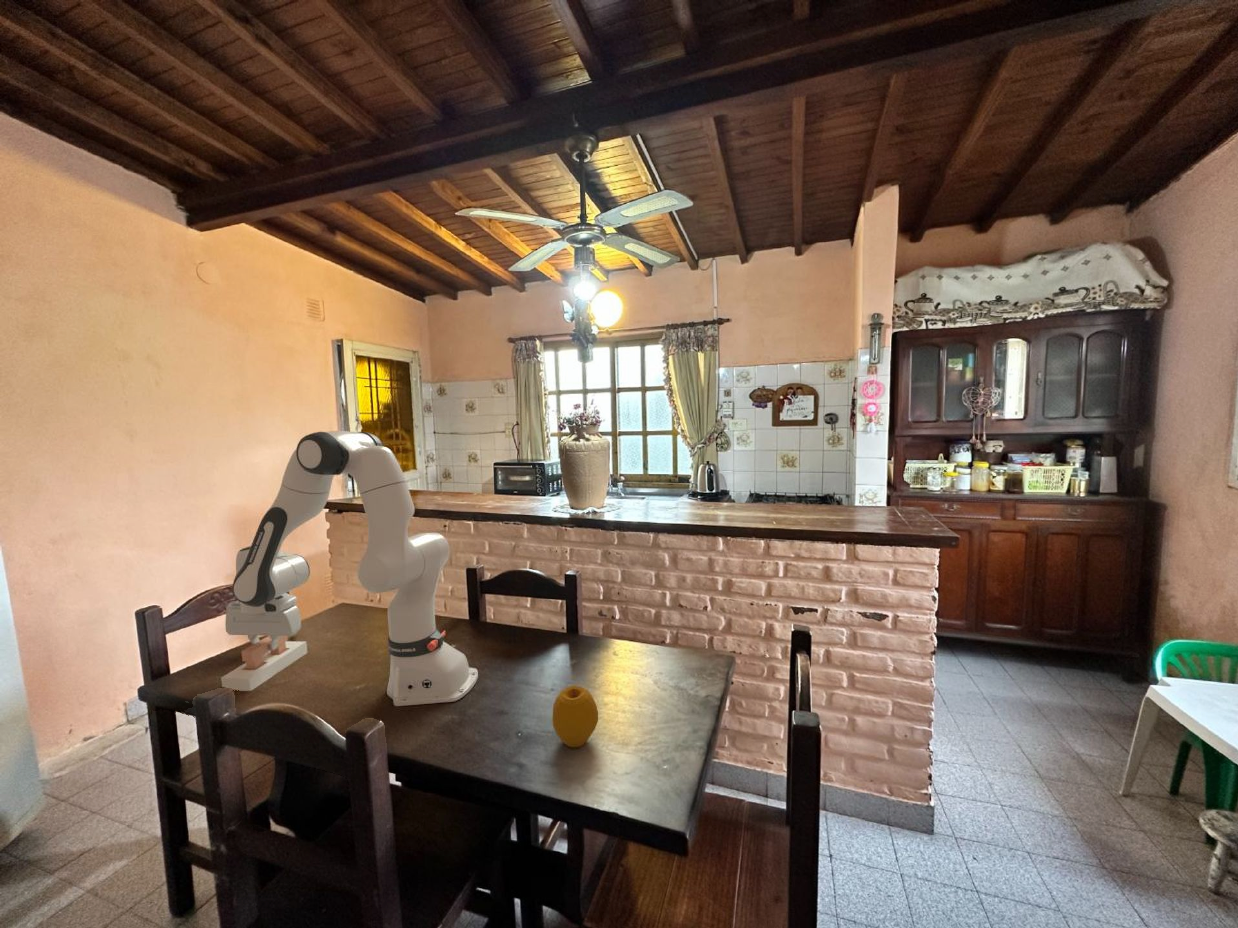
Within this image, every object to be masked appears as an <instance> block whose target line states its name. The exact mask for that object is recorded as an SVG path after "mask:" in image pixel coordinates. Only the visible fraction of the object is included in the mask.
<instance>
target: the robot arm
mask: <svg viewBox="0 0 1238 928" xmlns="http://www.w3.org/2000/svg"><path fill="white" fill-rule="evenodd" d="M341 474H343V475H344V474H348V475H350V476H351V477H352V478H353V479H354V481H355V483H356V486H357V490H358V493H359V495H360V499H361V500H360V501H361V502H362V505H363V508H364V513H365V516H366V520H367V521H366V522H367V525H368V526H367V527H368V539H367V545H366V549H365V552H364V553H363V556H362V557H361V559H360V560H359V563H358V565H357V578H358V580H359V583H360V584H361V586H362V587H363V588H364V589H365V590H366V591H367V592H369V593H372V594H381V593H387V592H391V591H395V592H396V593H395V594H394V596H393V598H392V599H391V600H390V602H389V604H388V606H387V622H388V623H387V625H388V634H389V635H388V637H387V646H388V654H389V656H390V665H389V666H390V667H389V679H388V684H387V688H386V694H387V696H388V697H389V698H390V699H392V700H393V701H392V703H393V705H394V706H395V707H402V706H414V705H425V704H427V705H428V704H437V703H438V704H439V703H451V702H456V701H458V700H460V699H461V698H463V697H464V696H466V695H467V694H468V693H469V692H470V691H471V690H472V689H473V687H474V685H476V683H477V681H478V678H479V672H478V669H477V668H475V667H469V662H468V659H467V657H466V655H465V654H464V653H463V652H461V651H459V650H458V649H456V648H454V647H453V646H452V645H449V643H447V642H445V641H444V639H443V638H444V637H445V636H446V630H443V631H442V632H440V631H439V629H438V627H437V626H436V613H435V611H436V609H435V608H436V607H435V600H436V592H437V587H438V583H439V579H440V576H441V574H442V570H443V568H444V567H445V564H446V563H447V561H448V560H449V558H450V554H451V548H450V544H449V542H448V541H447V539H446V537H445V536H444V535H442V534H440V533H438V532H422V533H418V534H413V535H411V536H409V534H408V533H409V532H408V530H409V529H408V527H409V523H410V521H411V519H412V518H413V516H414V514H415V509H416V508H415V505H414V501H413V498H412V496H411V492H410V490H409V487H408V483H407V480H406V478H405V474H404V471H403V469H402V468H401V466H400V463H399V461H398V459H397V457H396V456H395V454H394V453H393V451H392V450H391V449H390V448H389V447H386V446H384V444H383V443H382V441H381V440H380V438H379V437H377V436H376V435H374V434H373V433H370V432H365V431H349V430H347V431H346V430H331V431H316V432H312V433H309V434H307V435H305V436H303V437H302V438H301V439H300V440H299V442H298V443H297V445H296V449H295V450H294V451H293V453H292V455H291V456H290V458H289V461H288V463H287V465H286V467H285V470H284V473H283V476H282V480H281V484H280V487H279V490H278V493H277V495H276V497H275V500H274V501H273V503H272V504H271V506H270V508H268V510H267V511H266V512H265V514H264V515H263V517H262V519H261V521H260V523H259V524H258V527H257V530H256V531H255V532H256V533H255V536H254V537H253V541H252V542H251V544H250V546H246V547H243V548H241V549H239V551H238V552H237V554H236V557H235V558H236V559H235V572H236V575H235V577H234V579H233V583H232V593H233V596H234V598H235V599H236V600H237V601H236V600H232V601H230V602H229V603H228V604H226V607H225V609H226V613H225V621H224V623H225V632H226V633H227V634H228V636H229V635H231V636H247V639H248V640H249V641H250V643H251V644H252V645H253V644H255V643H257V642H259V641H261V639H260V638H259V636H269V635H270V639H272V640H271V643H269V644H267V645H268V650H274V649H276V648H277V647H278V644H277V641H278V640H279V638H280V636H291V635H293V634H295V633H296V632H297V633H298V632H299V631H300V630H301V628H302V621H301V615H300V611H299V608H298V607H297V606H296V604H297V603H298V598H297V596H295V595H293V594H291V593H290V592H291V591H292V590H295V589H297V588H299V587H301V586H303V585H304V584H305V583H307V582H308V580H309V577H310V574H311V573H310V572H311V571H310V564H309V562H308V561H307V560H306V559H305V558H304V557H303V556H301V555H299V554H297V553H293V554H292V553H288V552H285V551H281V549H282V545H283V543H284V541H285V540H286V539H287V538H288V536H289V535H290V534H292V533H293V531H295V530H296V529H298V528H299V527H300V526H303V524H305V523H306V522H309V521H310V520H312V519H314V518H315V517H318V515H319V514H321V512H322V511H323V510H324V508H325V506H326V505H327V502H328V499H329V496H330V493H331V489H332V484H333V483H332V482H333V479H334V477H335V476H340V475H341ZM287 592H289V593H290V594H287ZM294 604H295V605H294Z"/></svg>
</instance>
